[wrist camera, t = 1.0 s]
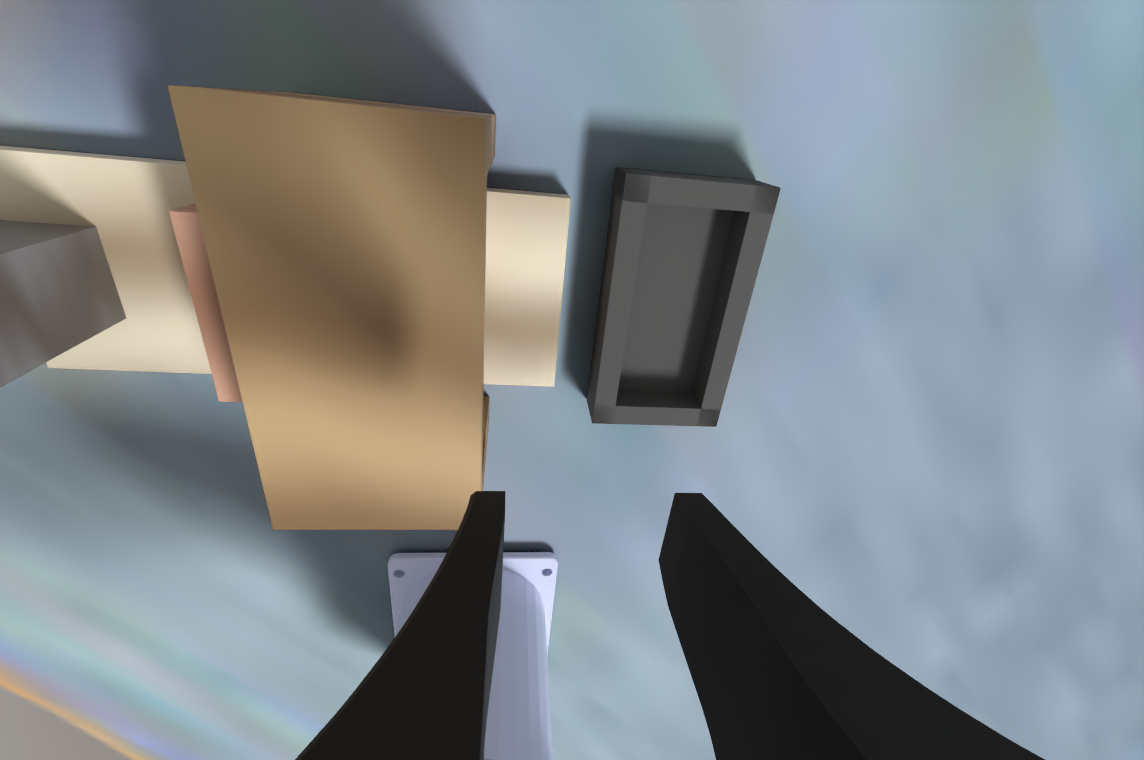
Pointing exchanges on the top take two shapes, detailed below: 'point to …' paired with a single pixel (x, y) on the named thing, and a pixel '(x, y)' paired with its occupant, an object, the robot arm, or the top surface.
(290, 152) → the tunnel
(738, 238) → the tray
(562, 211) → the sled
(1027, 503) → the top surface
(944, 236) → the top surface
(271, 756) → the top surface
